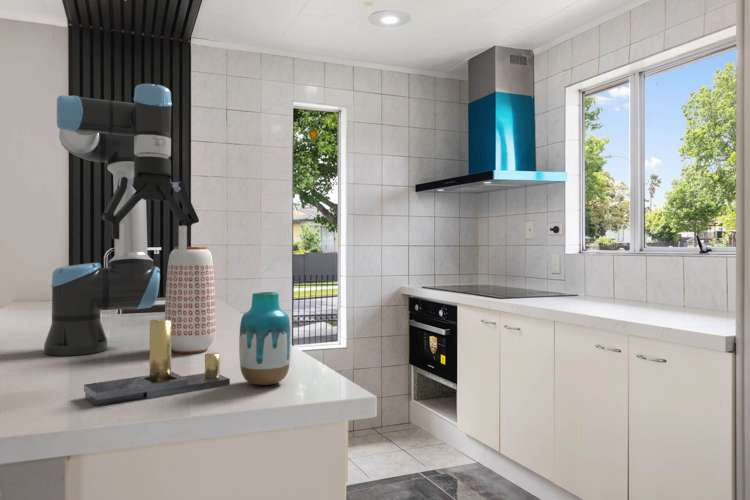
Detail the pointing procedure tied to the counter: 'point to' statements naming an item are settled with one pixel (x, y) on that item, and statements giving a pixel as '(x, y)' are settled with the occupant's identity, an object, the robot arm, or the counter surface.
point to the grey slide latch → (156, 385)
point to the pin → (160, 350)
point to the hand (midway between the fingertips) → (152, 255)
